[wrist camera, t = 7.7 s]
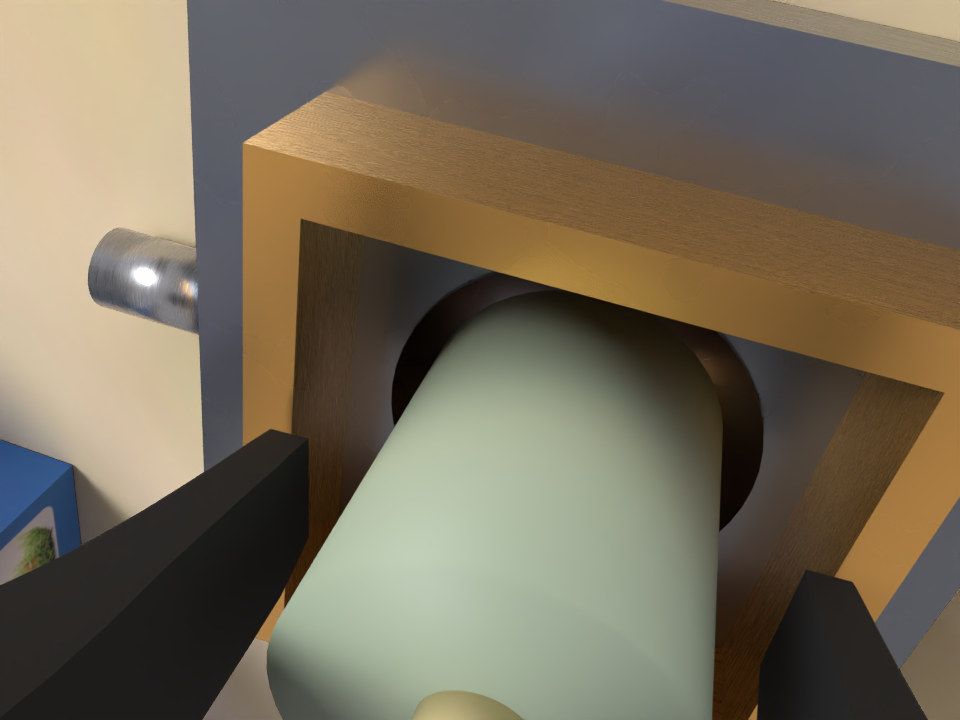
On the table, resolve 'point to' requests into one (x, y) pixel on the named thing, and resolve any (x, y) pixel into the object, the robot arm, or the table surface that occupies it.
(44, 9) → the table surface
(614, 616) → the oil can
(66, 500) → the milk carton
